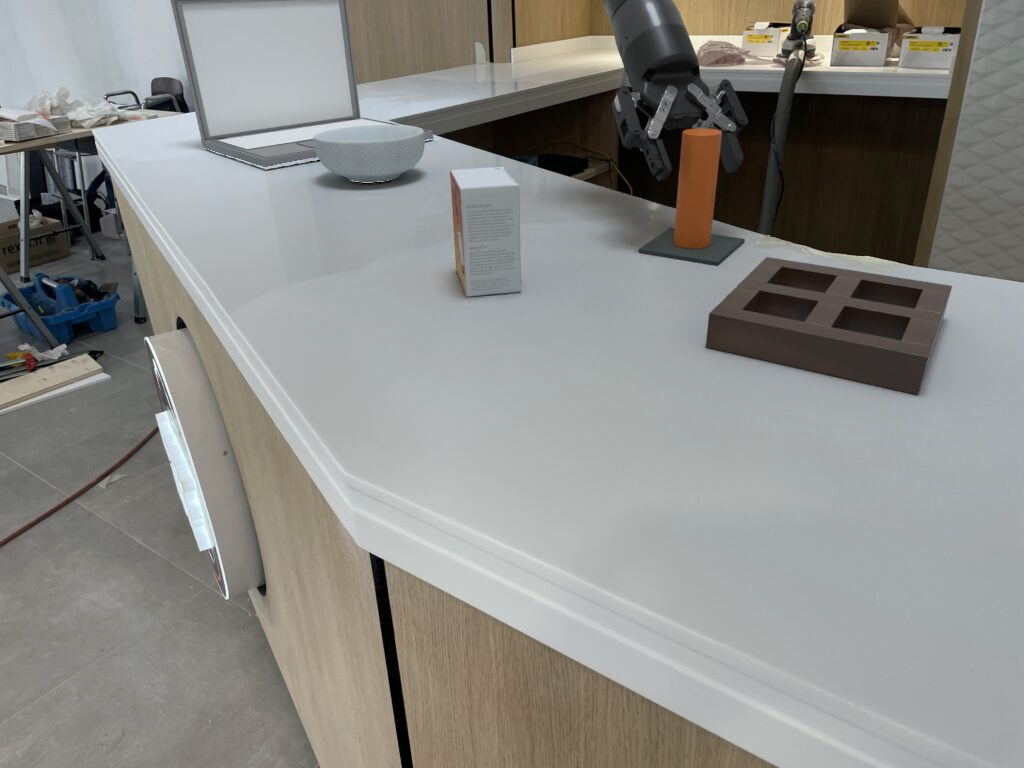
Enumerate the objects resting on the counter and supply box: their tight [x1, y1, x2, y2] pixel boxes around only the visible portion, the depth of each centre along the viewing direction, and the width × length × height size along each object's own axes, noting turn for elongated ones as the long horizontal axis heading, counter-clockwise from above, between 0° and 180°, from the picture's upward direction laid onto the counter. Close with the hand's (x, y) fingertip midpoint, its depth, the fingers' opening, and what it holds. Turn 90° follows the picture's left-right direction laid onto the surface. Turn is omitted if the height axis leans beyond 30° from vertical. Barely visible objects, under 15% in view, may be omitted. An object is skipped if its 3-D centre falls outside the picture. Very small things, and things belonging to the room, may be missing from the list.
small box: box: [449, 166, 522, 298], centre depth 71 cm, size 8×6×10 cm
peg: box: [674, 128, 722, 249], centre depth 79 cm, size 4×4×12 cm
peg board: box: [705, 256, 953, 396], centre depth 61 cm, size 16×16×3 cm
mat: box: [638, 227, 746, 266], centre depth 82 cm, size 9×9×1 cm
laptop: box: [170, 0, 434, 167], centre depth 136 cm, size 35×28×26 cm
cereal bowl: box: [314, 124, 426, 182], centre depth 114 cm, size 17×17×7 cm
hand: (701, 172), depth 77 cm, fingers open, 8 cm apart
